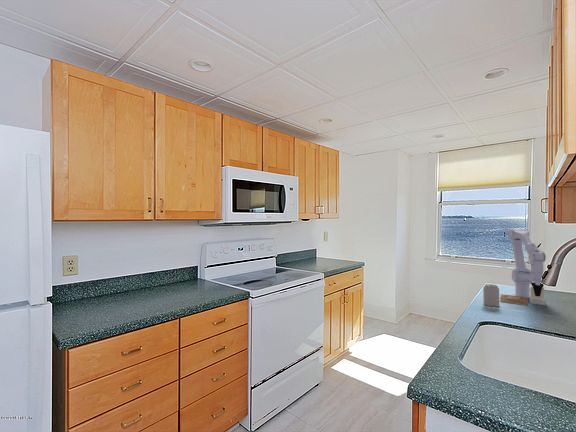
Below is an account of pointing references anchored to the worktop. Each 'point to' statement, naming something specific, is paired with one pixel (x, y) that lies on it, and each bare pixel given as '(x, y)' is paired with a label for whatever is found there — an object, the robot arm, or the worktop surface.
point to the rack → (522, 299)
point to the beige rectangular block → (537, 296)
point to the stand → (538, 301)
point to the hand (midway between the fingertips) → (537, 295)
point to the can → (491, 295)
